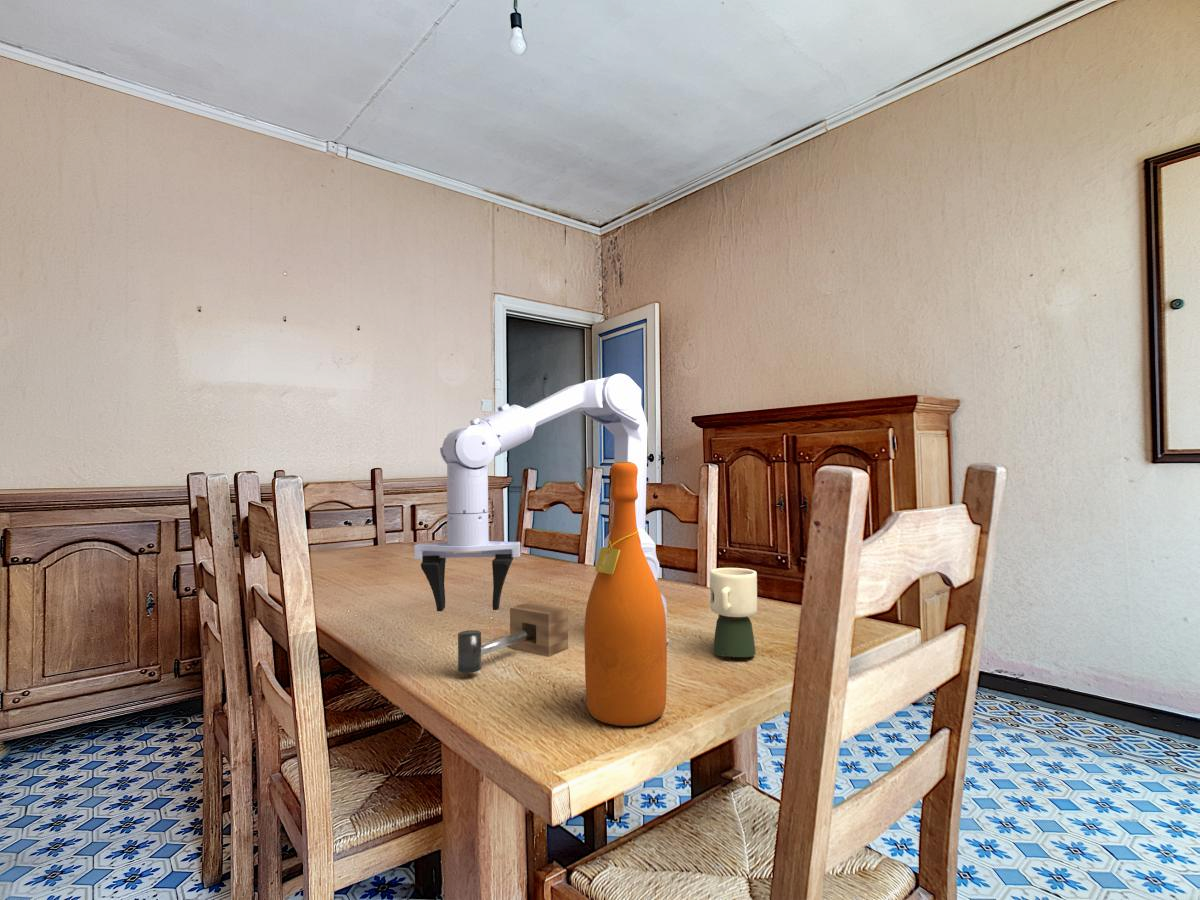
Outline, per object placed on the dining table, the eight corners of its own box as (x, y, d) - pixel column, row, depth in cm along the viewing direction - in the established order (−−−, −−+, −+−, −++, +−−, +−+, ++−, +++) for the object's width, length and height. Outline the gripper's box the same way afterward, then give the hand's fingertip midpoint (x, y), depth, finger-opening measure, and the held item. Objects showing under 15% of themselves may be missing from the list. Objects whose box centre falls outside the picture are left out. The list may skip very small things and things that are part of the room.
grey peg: (516, 646, 96) (515, 614, 96) (531, 649, 94) (531, 617, 94) (453, 670, 85) (453, 634, 85) (469, 674, 83) (469, 637, 83)
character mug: (721, 643, 100) (720, 564, 100) (765, 649, 96) (764, 567, 97) (700, 663, 90) (699, 575, 90) (748, 670, 87) (747, 579, 87)
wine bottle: (583, 698, 77) (581, 462, 78) (660, 695, 78) (657, 461, 78) (587, 732, 67) (584, 461, 68) (674, 729, 68) (671, 461, 69)
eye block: (530, 640, 102) (530, 601, 102) (568, 648, 98) (567, 607, 98) (510, 648, 98) (509, 607, 98) (548, 656, 94) (548, 614, 94)
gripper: (521, 509, 90) (522, 601, 90) (422, 510, 89) (423, 603, 89) (517, 513, 83) (518, 613, 83) (410, 515, 82) (410, 615, 82)
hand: (468, 609), depth 85 cm, fingers open, 7 cm apart
